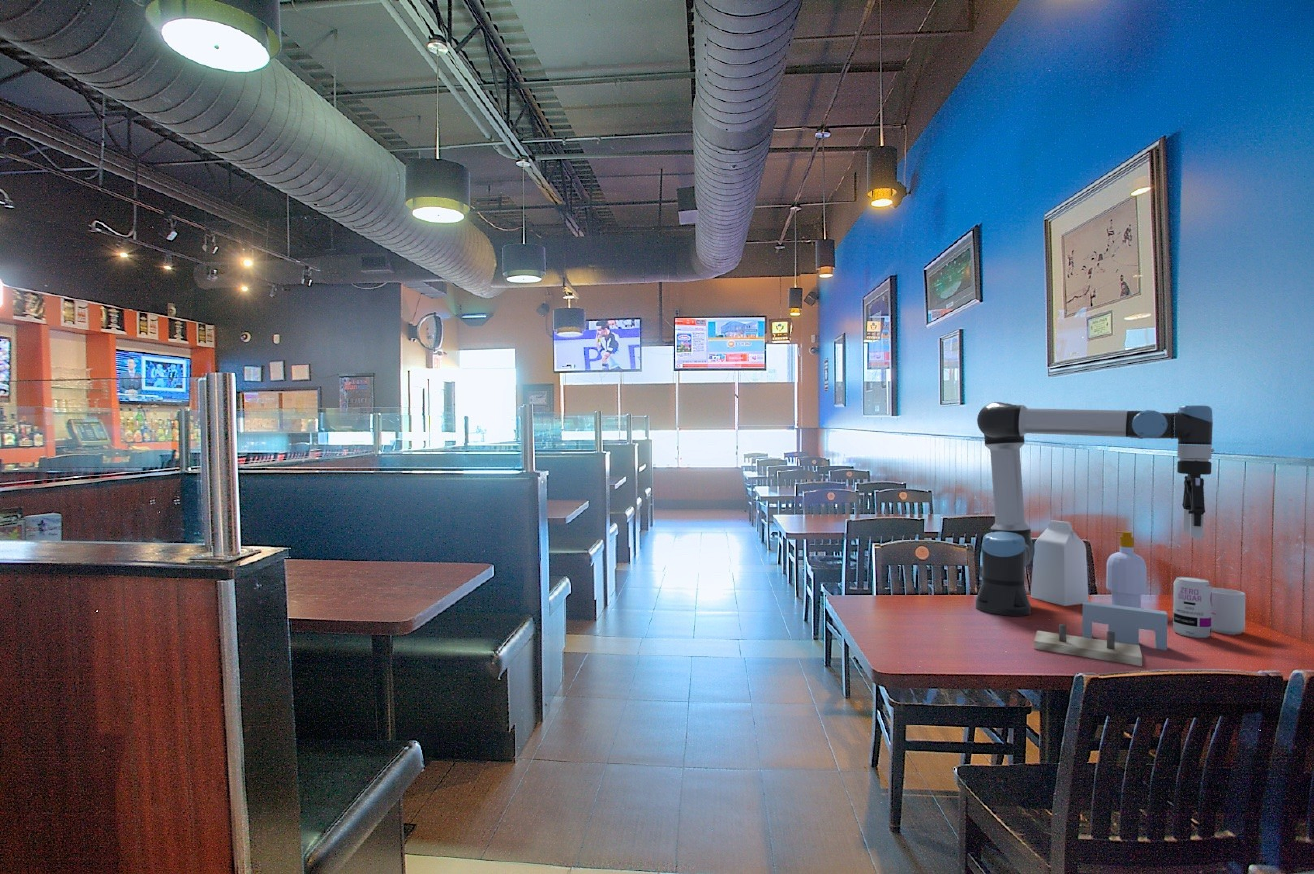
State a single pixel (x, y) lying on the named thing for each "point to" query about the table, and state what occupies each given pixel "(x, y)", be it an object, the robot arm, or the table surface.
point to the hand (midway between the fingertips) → (1192, 535)
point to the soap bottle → (1126, 574)
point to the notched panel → (1125, 622)
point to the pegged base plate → (1088, 646)
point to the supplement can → (1192, 607)
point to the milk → (1060, 566)
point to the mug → (1227, 611)
